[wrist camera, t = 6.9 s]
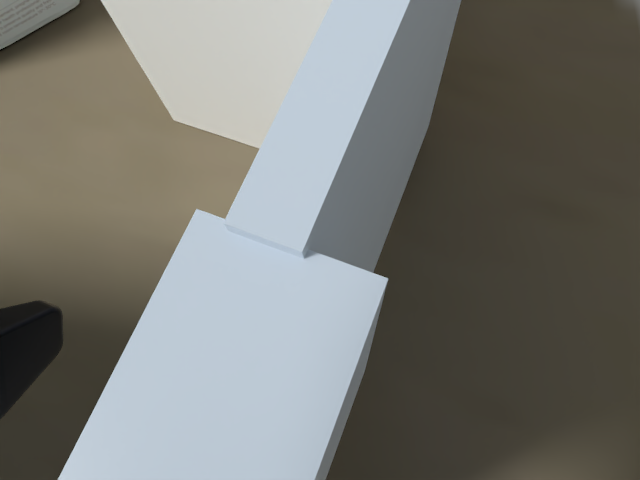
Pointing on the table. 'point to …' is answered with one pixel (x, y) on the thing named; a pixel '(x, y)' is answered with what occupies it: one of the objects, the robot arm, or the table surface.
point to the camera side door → (280, 272)
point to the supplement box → (28, 16)
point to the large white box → (220, 57)
